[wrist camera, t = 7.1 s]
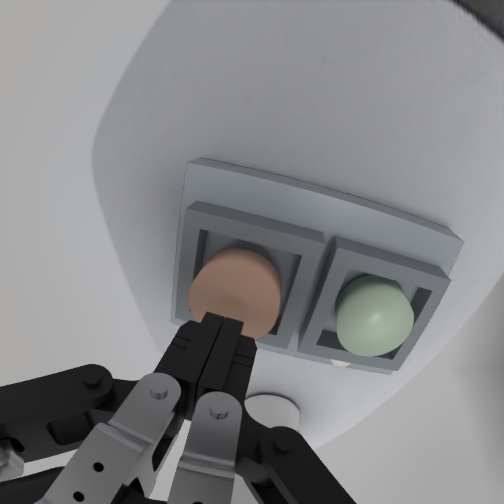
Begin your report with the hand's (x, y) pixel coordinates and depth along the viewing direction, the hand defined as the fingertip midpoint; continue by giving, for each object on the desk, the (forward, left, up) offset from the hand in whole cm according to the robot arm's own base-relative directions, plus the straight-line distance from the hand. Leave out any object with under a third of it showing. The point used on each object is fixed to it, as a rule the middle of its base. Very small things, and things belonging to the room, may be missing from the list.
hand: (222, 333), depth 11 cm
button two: (0, 0, -3) cm, 3 cm away
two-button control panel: (0, +4, -7) cm, 8 cm away
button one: (0, +7, -5) cm, 8 cm away
